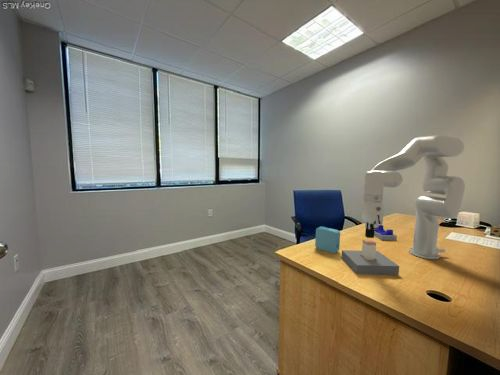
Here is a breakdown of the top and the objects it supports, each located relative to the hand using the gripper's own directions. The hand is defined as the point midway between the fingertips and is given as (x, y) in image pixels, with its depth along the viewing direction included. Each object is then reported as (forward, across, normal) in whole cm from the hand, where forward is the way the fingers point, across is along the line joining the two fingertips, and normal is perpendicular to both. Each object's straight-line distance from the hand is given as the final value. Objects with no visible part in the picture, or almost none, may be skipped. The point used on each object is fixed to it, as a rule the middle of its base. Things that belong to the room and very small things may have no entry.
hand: (369, 237), depth 98 cm
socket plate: (+14, 0, 0) cm, 14 cm away
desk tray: (+13, +44, -32) cm, 56 cm away
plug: (+14, 0, 0) cm, 14 cm away
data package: (+14, +18, +13) cm, 26 cm away
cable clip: (+14, +44, -34) cm, 57 cm away
